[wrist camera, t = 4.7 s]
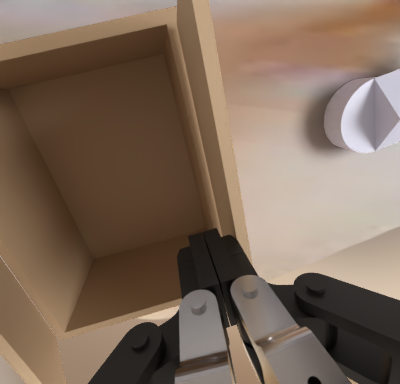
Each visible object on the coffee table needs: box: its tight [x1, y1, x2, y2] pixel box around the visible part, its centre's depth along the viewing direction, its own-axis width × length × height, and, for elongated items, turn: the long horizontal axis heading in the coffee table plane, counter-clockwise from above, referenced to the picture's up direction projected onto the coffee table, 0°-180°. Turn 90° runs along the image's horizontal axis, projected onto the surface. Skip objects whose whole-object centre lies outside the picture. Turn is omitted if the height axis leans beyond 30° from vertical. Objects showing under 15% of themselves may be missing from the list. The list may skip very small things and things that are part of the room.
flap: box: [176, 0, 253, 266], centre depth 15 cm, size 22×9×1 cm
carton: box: [0, 6, 223, 340], centre depth 24 cm, size 24×18×12 cm
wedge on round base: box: [324, 69, 400, 153], centre depth 29 cm, size 9×7×13 cm
